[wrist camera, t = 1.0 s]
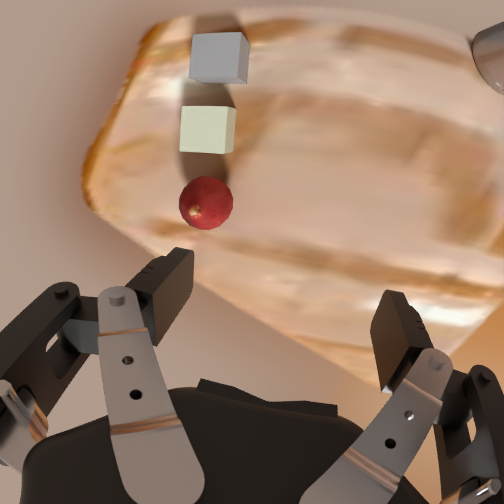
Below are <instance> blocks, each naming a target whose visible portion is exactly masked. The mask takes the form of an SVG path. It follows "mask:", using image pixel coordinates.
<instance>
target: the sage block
mask: <svg viewBox="0 0 504 504" xmlns="http://www.w3.org/2000/svg"><path fill="white" fill-rule="evenodd" d="M235 120H236V109H235V108H231V107H226V106H182V113H181V129H180V151H182V152H203V153H218V154H226V153H229V152H232V151H233V146H234V132H235Z"/></svg>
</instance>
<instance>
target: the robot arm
mask: <svg viewBox="0 0 504 504" xmlns="http://www.w3.org/2000/svg"><path fill="white" fill-rule="evenodd" d="M472 46H473V56H474V60H475V62H476V65H477V67H478V69H479V72H480V73H481V75H482V76H483V78H484V79H485V81H486V82H487V83H488V84H489V85H490V86H491V87H492V88H493V89H494V90H496V91H497V92H499V93H501V94H504V22H501V23H499V24H497V25H494V26H492V27H490V28H487V29H485V30H483V31H481V32H479V33H478V34H477V35H475V37H474V39H473V45H472ZM193 274H194V252H193V250H188V249H183V248H179V247H175V248H174V249H173V250H172V251H171V252H170V253H169V254H168V255H167V256H160V257H158V258H155V259H153V260H152V261H150V262H149V263H148V264H147V265H146V267H144V268H143V269H142V270H141V272H139V273H138V274H137V275H136V276H135V277H134V278H133V279H132V280H131V281H130V282H129V283H127V284H126V286H124V287H123V286H115V287H110V288H108V289H105V290H104V291H102V292H101V293H100V294H99V296H98V297H85V296H80V292H79V288H78V286H77V285H76V284H74V283H71V282H60V283H56V284H54V285H52V286H51V287H49V288H48V289H46V290H45V291H44V292H43V293H42V294H41V295H40V296H38V298H36V299H35V300H34V301H33V302H32V303H31V304H30V305H29V306H27V307H26V308H25V309H24V310H23V311H22V312H21V313H20V314H19V315H18V316H17V317H16V318H14V319H13V321H11V323H9V324H8V325H7V326H6V327H5V328H4V329H3V330H2V331H1V332H0V464H2V465H4V466H10V467H12V468H13V469H14V470H15V471H17V472H18V473H19V474H21V475H22V491H21V498H20V504H429V503H428V502H427V501H426V500H425V499H424V498H423V496H422V495H421V494H420V493H419V492H418V491H417V490H416V489H415V488H414V486H413V485H412V484H411V483H410V482H409V481H408V480H407V479H406V477H405V476H404V473H405V472H406V470H407V468H408V467H409V465H410V464H411V462H412V460H413V459H414V457H415V455H416V454H417V452H418V450H419V449H420V447H421V445H422V443H423V441H424V440H425V438H426V436H427V434H428V432H429V430H430V428H431V426H432V425H433V428H434V434H435V440H436V447H437V454H438V462H439V471H440V481H441V494H442V500H441V502H440V503H439V504H504V394H503V392H502V390H501V387H500V385H499V382H498V380H497V378H496V376H495V374H494V373H493V372H492V371H491V370H490V369H489V368H487V367H485V366H483V365H475V366H473V367H472V368H471V370H470V371H469V373H468V374H466V373H463V372H460V371H457V370H454V369H453V364H452V361H451V360H450V358H449V357H448V356H447V355H446V354H445V353H443V352H442V351H440V350H437V349H434V347H433V344H432V342H431V340H430V337H429V335H428V333H427V330H425V326H424V324H423V323H422V322H423V321H422V319H421V317H420V315H419V313H418V312H417V311H416V310H415V309H414V308H413V307H412V306H410V305H409V304H408V302H407V299H406V297H405V295H404V293H402V292H397V291H392V290H385V292H384V293H383V295H382V298H381V300H380V303H379V305H378V308H377V310H376V313H375V315H374V317H373V320H372V323H371V329H370V334H371V339H372V344H373V349H374V354H375V359H376V364H377V370H378V375H379V381H380V387H381V392H383V393H392V396H391V397H390V399H389V400H388V401H387V403H386V404H385V405H384V407H383V408H382V409H381V411H380V412H379V413H378V414H377V416H376V417H375V418H374V419H373V421H372V422H371V423H370V424H369V426H368V427H367V428H366V429H365V431H364V430H363V429H362V428H360V427H359V426H357V425H356V424H355V423H353V422H352V421H350V420H348V419H346V418H343V417H341V416H338V415H337V414H338V412H337V405H333V404H324V403H317V402H310V401H284V402H268V401H265V400H263V399H260V398H258V397H256V396H253V395H251V394H249V393H246V392H244V391H242V390H240V389H238V388H236V387H233V386H229V385H224V384H220V383H216V382H213V381H209V380H205V379H200V382H199V384H198V386H197V387H182V388H175V389H170V390H167V388H166V385H165V382H164V380H163V377H162V374H161V371H160V368H159V364H158V361H157V358H156V355H155V352H154V349H153V346H156V347H157V346H158V344H159V342H160V341H161V340H162V338H163V336H164V335H165V333H166V332H167V330H168V329H169V327H170V326H171V324H172V322H173V321H174V320H175V318H176V317H177V315H178V314H179V312H180V311H181V309H182V308H183V306H184V305H185V303H186V301H187V300H188V299H189V297H190V295H191V292H192V288H193ZM55 334H57V337H58V339H57V340H56V342H55V343H54V344H53V345H52V346H51V347H50V349H49V350H48V351H47V352H46V346H47V344H48V342H49V341H50V340H51V338H52V337H53V336H54V335H55ZM90 354H97V355H99V358H100V366H101V374H102V382H103V388H104V394H105V401H106V406H107V412H108V415H106V416H104V417H102V418H99V419H96V420H94V421H91V422H88V423H86V424H83V425H80V426H78V427H75V428H72V429H70V430H67V431H64V432H61V433H58V434H55V435H52V436H49V437H47V436H46V434H47V431H48V421H47V416H48V415H49V413H50V411H51V410H52V409H53V407H54V406H55V404H56V403H57V401H58V400H59V398H60V397H61V395H62V394H63V392H64V391H65V389H66V388H67V387H68V385H69V384H70V382H71V381H72V379H73V378H74V376H75V375H76V374H77V372H78V371H79V369H80V368H81V367H82V365H83V364H84V362H85V361H86V360H87V358H88V357H89V356H90ZM472 417H473V418H474V422H475V426H476V435H475V438H474V440H473V441H472V442H471V439H470V435H469V431H468V427H467V422H468V421H469V420H470V419H471V418H472Z"/></svg>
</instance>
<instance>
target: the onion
mask: <svg viewBox="0 0 504 504" xmlns="http://www.w3.org/2000/svg"><path fill="white" fill-rule="evenodd" d="M232 208H233V197H232V194H231V191H230V189H229V188H228V187H227V186H226V185H225V183H224V182H222V181H221V180H219V179H217V178H215V177H205V176H201V177H199V178H196V179H194V180H192V181H191V182H190V183H189V184H188V185H187V186H186V187H185V188H184V189H183V191H182V193H181V195H180V198H179V210H180V212H181V215H182V217H183V219H184V220H185V221H186V222H187V223H188V224H189V225H190V226H192V227H195V228H197V229H203V230H210V229H213V228H216V227H219V226H220V225H221V224H222V223H223V222H224V221H226V220H227V219H228V217H229V215H230V213H231V211H232Z"/></svg>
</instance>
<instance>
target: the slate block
mask: <svg viewBox="0 0 504 504" xmlns="http://www.w3.org/2000/svg"><path fill="white" fill-rule="evenodd" d="M249 54H250V44H249V42H248V41H247V39H246V38H245V37H244V35H243V34H242V32H225V33H205V34H193V40H192V49H191V59H190V69H189V78H191V79H194V80H196V81H199V82H202V83H204V84H214V83H222V84H247V77H248V65H249Z"/></svg>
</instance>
